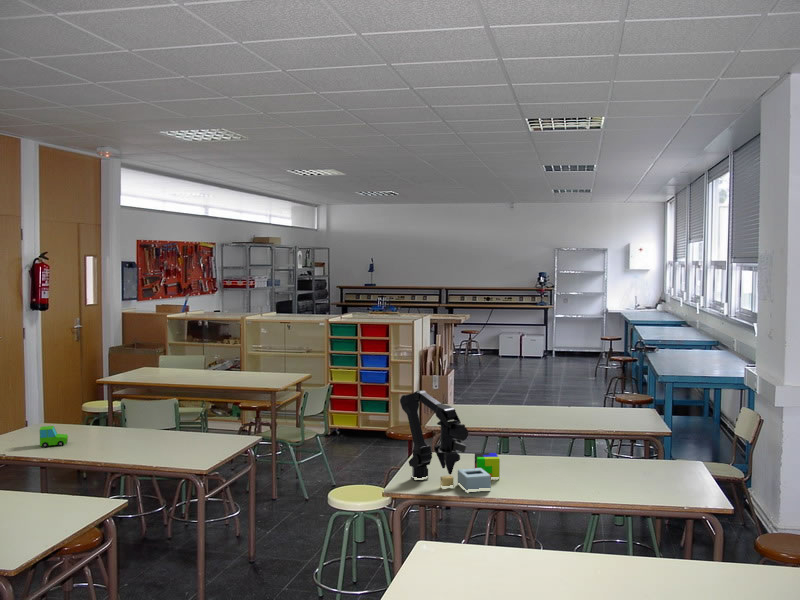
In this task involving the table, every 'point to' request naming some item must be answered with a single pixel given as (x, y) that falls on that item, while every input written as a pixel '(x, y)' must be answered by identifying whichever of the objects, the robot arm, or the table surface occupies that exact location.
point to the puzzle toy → (488, 463)
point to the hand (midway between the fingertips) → (446, 471)
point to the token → (446, 480)
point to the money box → (474, 478)
